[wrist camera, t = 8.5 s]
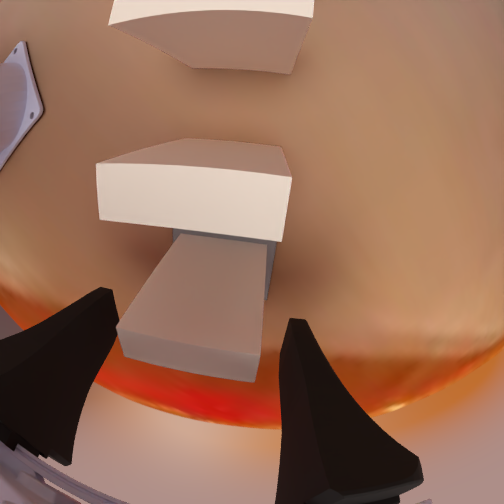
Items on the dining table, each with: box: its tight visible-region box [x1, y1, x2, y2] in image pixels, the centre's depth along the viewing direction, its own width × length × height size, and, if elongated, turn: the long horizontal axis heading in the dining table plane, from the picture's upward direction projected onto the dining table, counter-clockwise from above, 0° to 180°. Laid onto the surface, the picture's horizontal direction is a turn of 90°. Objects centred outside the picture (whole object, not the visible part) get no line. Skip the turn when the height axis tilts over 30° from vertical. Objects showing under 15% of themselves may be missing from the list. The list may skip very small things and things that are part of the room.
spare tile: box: [116, 233, 267, 382], centre depth 12 cm, size 2×5×8 cm, turn 84°
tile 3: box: [108, 0, 314, 75], centre depth 7 cm, size 2×5×8 cm, turn 84°
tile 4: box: [96, 138, 292, 242], centre depth 10 cm, size 2×5×8 cm, turn 84°
